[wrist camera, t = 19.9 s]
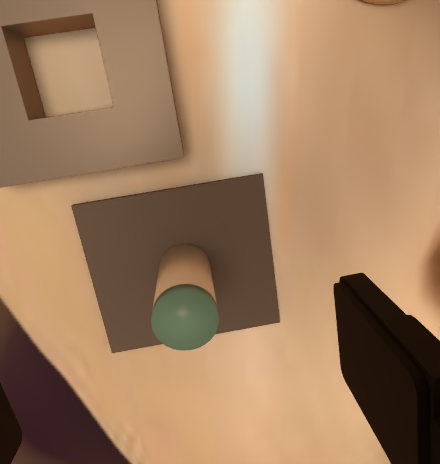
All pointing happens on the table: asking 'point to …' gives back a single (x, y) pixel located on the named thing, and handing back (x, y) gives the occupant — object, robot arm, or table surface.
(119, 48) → the housing
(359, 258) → the table surface
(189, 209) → the mat
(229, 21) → the table surface
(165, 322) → the filter cartridge
